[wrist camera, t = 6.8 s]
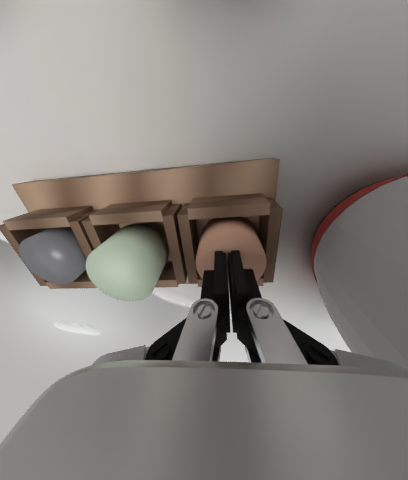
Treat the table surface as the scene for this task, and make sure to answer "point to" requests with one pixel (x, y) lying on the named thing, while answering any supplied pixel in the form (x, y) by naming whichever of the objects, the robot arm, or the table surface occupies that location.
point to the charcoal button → (54, 255)
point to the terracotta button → (230, 245)
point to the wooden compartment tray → (154, 211)
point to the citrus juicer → (367, 269)
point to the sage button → (128, 263)
